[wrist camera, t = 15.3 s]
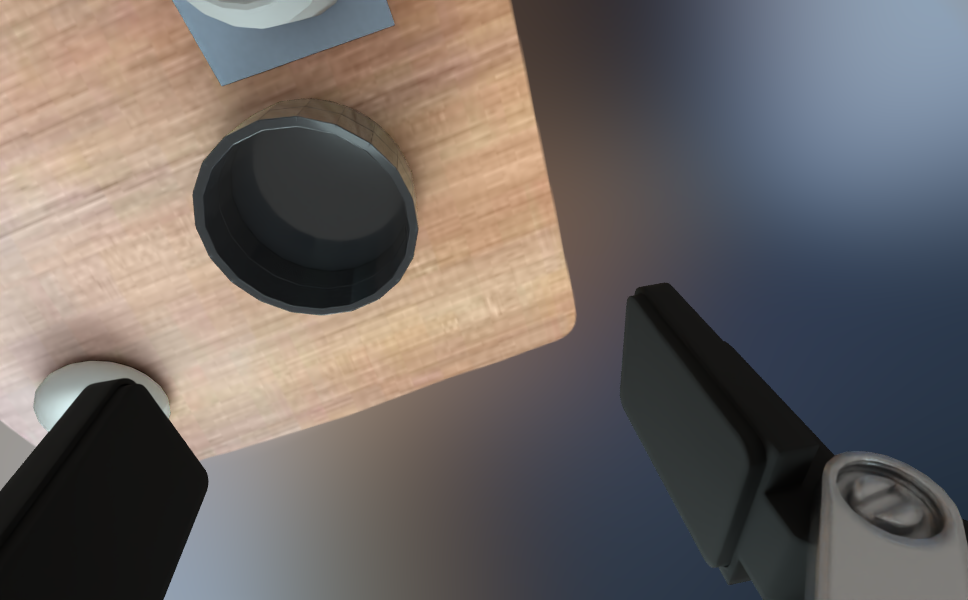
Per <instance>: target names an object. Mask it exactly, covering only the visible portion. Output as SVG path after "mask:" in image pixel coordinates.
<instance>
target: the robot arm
mask: <svg viewBox="0 0 968 600" xmlns="http://www.w3.org/2000/svg"><path fill="white" fill-rule="evenodd" d="M620 398H621V403H622V406H623V408H624V411H625V412H626V414H627V416H628V418H629V420H630V422H631V424H632V426H633V427H634V429H635V431H636V433H637V435H638V437H639V439H640V440H641V442H642V444H643V446H644V448H645V450H646V451H647V454H648V455H649V457H650V459H651V461H652V463H653V465H654V467H655V468H656V470H657V472H658V474H659V476H660V478H661V480H662V481H663V483H664V485H665V487H666V489H667V491H668V493H669V495H670V496H671V498H672V500H673V502H674V504H675V506H676V508H677V509H678V511H679V513H680V515H681V517H682V519H683V521H684V523H685V524H686V526H687V528H688V530H689V532H690V534H691V536H692V538H693V539H694V541H695V543H696V545H697V547H698V549H699V550H700V552H701V554H702V556H703V558H704V559H705V561H706V562H707V563H708V565H709V566H710V567H712V568H716V567H719V569H720V571H721V573H722V575H723V576H724V578H725V580H726V582H727V584H728V585H732V584H736V583H741V582H746V581H750V580H752V582H753V584H754V585H755V587H756V589H757V590H758V592H759V594H760V595H761V597H762V599H763V600H968V521H966V520H964V519H962V518H961V516H960V514H959V511H958V509H957V507H956V505H955V503H954V502H953V501H952V500H951V499H950V497H949V496H948V495H947V494H946V492H945V491H944V490H943V489H942V488H941V487H940V486H938V485H937V484H936V483H935V482H934V481H932V480H931V479H930V478H929V477H927V476H926V475H925V474H923V473H921V472H920V471H918V470H916V469H914V468H913V467H911V466H909V465H908V464H906V463H903V462H901V461H898V460H896V459H893V458H891V457H888V456H886V455H881V454H876V453H871V452H867V451H848V452H845V453H841V454H838V455H834V454H833V453H832V452H831V451H830V450H829V449H828V448H827V447H826V446H825V445H824V444H823V443H822V442H821V441H820V439H819V438H818V437H817V436H816V435H815V434H814V433H813V432H812V431H811V430H810V429H809V428H808V427H807V426H806V425H805V424H804V422H803V421H802V420H801V419H800V418H799V417H798V416H797V415H796V414H795V413H794V412H793V411H792V410H791V409H790V408H789V407H788V406H787V404H786V403H785V402H784V401H783V400H782V399H781V398H780V397H779V396H778V395H777V394H776V393H775V392H774V391H773V390H772V389H771V387H770V386H769V385H768V384H767V383H766V382H765V381H764V380H763V379H762V378H761V377H760V376H759V375H758V374H757V373H756V372H755V371H754V369H752V367H751V366H750V365H749V364H748V363H747V362H746V361H745V360H744V359H743V358H742V357H741V356H740V355H739V354H738V353H737V352H736V350H735V349H734V348H733V347H732V346H730V345H729V344H728V343H726V342H725V341H723V340H722V339H721V338H720V337H719V336H718V335H717V334H716V333H715V332H714V331H713V330H712V328H711V327H710V326H709V325H708V324H707V323H706V322H705V321H704V320H703V319H702V318H701V317H700V316H699V315H698V313H697V312H696V311H695V310H694V309H693V308H692V307H691V306H690V305H689V304H688V303H687V302H686V301H685V300H684V299H683V297H682V296H681V295H680V294H679V293H678V292H677V291H676V290H675V289H674V288H673V287H672V286H671V285H670V284H669V283H660V284H654V285H648V286H643V287H639V288H637V289H636V291H635V295H634V296H630V297H629V298H628V299H627V306H626V320H625V332H624V345H623V358H622V371H621V385H620ZM207 488H208V475H207V472H206V470H205V469H204V468H203V466H202V465H201V463H200V462H199V461H198V459H197V458H196V456H195V455H194V454H193V452H192V451H191V449H190V448H189V447H188V445H187V444H186V442H185V441H184V440H183V438H182V437H181V436H180V434H179V433H178V431H177V430H176V429H175V427H174V426H173V424H172V423H171V422H170V420H169V419H168V417H167V416H166V415H165V413H164V412H163V411H162V409H161V408H160V406H159V405H158V404H157V402H156V401H155V399H154V398H153V397H152V395H151V394H150V392H149V391H148V390H147V388H146V387H145V386H144V385H142V384H137V383H136V382H135V381H133V380H131V379H129V378H120V379H115V380H109V381H103V382H98V383H93V384H90V385H88V386H87V387H86V388H85V389H83V391H82V392H81V393H80V394H79V395H78V397H77V398H76V399H75V400H74V402H73V403H72V404H71V405H70V406H69V408H68V409H67V410H66V411H65V413H64V414H63V415H62V416H61V417H60V419H59V420H58V421H57V422H56V424H55V425H54V426H53V427H52V428H51V430H50V431H49V432H48V433H47V435H46V436H45V437H44V438H43V440H42V441H41V442H40V443H39V444H38V446H37V447H36V448H35V449H34V451H33V452H32V453H31V454H30V455H29V457H28V458H27V459H26V460H25V462H24V463H23V464H22V465H21V466H20V468H19V469H18V470H17V471H16V473H15V474H14V475H13V476H12V477H11V479H10V480H9V481H8V482H7V484H6V485H5V486H4V487H3V488H2V490H1V491H0V600H163V599H164V597H165V594H166V592H167V589H168V587H169V584H170V582H171V579H172V577H173V574H174V572H175V569H176V567H177V564H178V562H179V559H180V556H181V554H182V552H183V549H184V547H185V544H186V542H187V539H188V537H189V534H190V532H191V529H192V527H193V524H194V522H195V519H196V517H197V514H198V511H199V509H200V506H201V504H202V502H203V499H204V497H205V494H206V492H207Z"/></svg>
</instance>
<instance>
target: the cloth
mask: <svg viewBox="0 0 968 600" xmlns="http://www.w3.org/2000/svg"><path fill="white" fill-rule="evenodd" d="M173 2H174V4H175V6H176V7H177V9H178V11H179V13H180V14H181V16H182V18H183V20H184V21H185V23H186V25H187V27H188V28H189V30H190V32H191V34H192V35H193V37H194V39H195V41H196V42H197V44H198V46H199V48H200V49H201V51H202V53H203V55H204V56H205V58H206V60H207V61H208V63H209V65H210V67H211V68H212V70H213V72H214V74H215V75H216V77H217V79H218V81H219V82H220V84H221V86H224V85H227V84H230V83H233V82H236V81H238V80H241V79H244V78H247V77H250V76H253V75H255V74H258V73H261V72H264V71H267V70H269V69H272V68H275V67H278V66H281V65H284V64H286V63H289V62H292V61H295V60H298V59H301V58H303V57H306V56H309V55H312V54H315V53H317V52H320V51H323V50H326V49H329V48H332V47H334V46H337V45H340V44H343V43H346V42H349V41H351V40H354V39H357V38H360V37H363V36H365V35H368V34H371V33H374V32H377V31H380V30H382V29H385V28H388V27H391V26H394V25H395V24H394V21H393V18H392V15H391V12H390V9H389V6H388V3H387V0H337V2H336V3H335V4H334V5H332V6H331V7H330V8H329V9H327V10H326V11H325V12H323V13H322V14H321V15H318V16H315V17H311V18H307V19H304V20H300V21H295V22H291V23H287V24H282V25H278V26H273V27H269V28H265V29H259V28H247V27H236V26H232V25H230V24H227V23H225V22H222V21H220V20H218V19H215V18H213V17H210V16H208V15H205V14H204V13H202V12H201V11H200V10H198V9H197V8H196V7H194V6H193V5H192V4H190V3H189V2H188V1H186V0H173Z"/></svg>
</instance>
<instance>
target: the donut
mask: <svg viewBox="0 0 968 600" xmlns="http://www.w3.org/2000/svg"><path fill="white" fill-rule="evenodd" d="M120 378H129V379H131V380H133V381H135V382H136V383H137V384H142V385H144V386H145V387H146V388H147V390H148V391H149V392H150V394H151V395H152V397H153V398H154V399H155V401H156V402H157V404H158V405H159V406H160V408H161V409H162V411H163V412H164V413H165V415H166V416H167V417H168V419H169V417H170V413H171V412H170V406H169V401H168V397H167V395H166V394H165V392H164V391H163V390H162V388H161V387H160V385H158V384H157V383H156V382H155V381H153V380H152V379H151V378H150V377H149V376H147V375H146V374H144V373H142V372H140V371H138V370H136V369H134V368H132V367H129V366H125V365H121V364H117V363H113V362H104V361H86V362H80V363H73V364H70V365H67V366H65V367H63V368H60V369H58V370H56V371H54V372H52V373H51V374H50V375H48V376H47V377H46V378H45V379H44V381H43V382H42V383H41V384H40V385H39V387H38V388H37V390H36V392H35V398H34V407H33V408H34V411H35V414H36V416H37V419H38V421H39V422H40V424H41V425H42V426H43V427H44V428H45V429H46V430H47V431H48V432H49V431H50V430H51V428H52V427H53V426H54V425H55V424H56V422H57V421H58V420H59V419H60V417H61V416H62V415H63V414H64V413H65V411H66V410H67V409H68V408H69V406H70V405H71V404H72V403H73V402H74V400H75V399H76V398H77V397H78V395H79V394H80V393H81V392H82V391H83V389H85V388H86V387H87V386H88V385H90V384H93V383H98V382H103V381H109V380H115V379H120Z"/></svg>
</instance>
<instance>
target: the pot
mask: <svg viewBox="0 0 968 600" xmlns="http://www.w3.org/2000/svg"><path fill="white" fill-rule="evenodd" d="M193 205H194V217H195V226H196V229H197V231H198V233H199V235H200V238H201V240H202V242H203V244H204V246H205V248H206V251H207V253H208V255H209V256H210V258H211V259H212V261H213V262H214V263H215V264H216V265H217V266H218V267H219V269H220V270H221V271H222V272H223V273H224V274H225V275H226V276H227V278H228V279H229V280H230V281H231V282H232V283H234V284H235V285H237V286H238V287H240V288H241V289H243V290H244V291H246V292H247V293H249V294H250V295H252V296H253V297H255V298H256V299H258V300H259V301H261V302H264V303H267V304H270V305H273V306H275V307H278V308H281V309H284V310H286V311H289V312H294V313H304V314H313V315H329V314H336V313H343V312H350V311H354V310H356V309H358V308H360V307H363V306H365V305H367V304H370V303H372V302H374V301H376V300H378V299H380V298H381V297H382V296H383V295H384V294H386V293H387V292H388V291H389V290H390V289H391V288H392V287H394V286H395V285H396V284H397V283H398V282H399V281H400V280H401V278H402V276H403V275H404V273H405V271H406V269H407V268H408V266H409V264H410V263H411V261H412V259H413V257H414V252H415V246H416V240H417V235H418V216H417V202H416V194H415V188H414V182H413V176H412V171H411V170H410V168H409V165H408V163H407V161H406V159H405V157H404V155H403V153H402V152H401V150H400V148H399V146H398V145H397V144H396V143H395V142H394V140H393V139H392V138H391V137H390V136H389V134H388V133H386V132H385V131H384V130H383V129H382V128H381V127H380V126H379V125H378V124H377V123H375V122H374V121H372V120H371V119H370V118H368V117H367V116H365V115H363V114H362V113H360V112H358V111H356V110H354V109H352V108H349V107H347V106H345V105H342V104H338V103H335V102H331V101H326V100H319V99H312V98H310V99H296V100H288V101H282V102H278V103H276V104H274V105H272V106H270V107H268V108H265V109H263V110H262V111H260V112H258V113H256V114H254V115H252V116H250V117H249V118H248V119H246V120H245V121H244V122H243V123H241V124H240V125H239V126H238V127H236V128H235V129H234V130H232V131H231V132H230V133H229V134H227V135H226V136H225V137H224V138H223V139H222V140H221V141H220V142H219V143H218V145H217V146H216V147H215V148H214V149H213V150H212V151H211V153H210V154H209V155H208V156H207V157H206V158H205V159H204V161H203V163H202V165H201V168H200V171H199V174H198V177H197V180H196V184H195V187H194V190H193Z"/></svg>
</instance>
